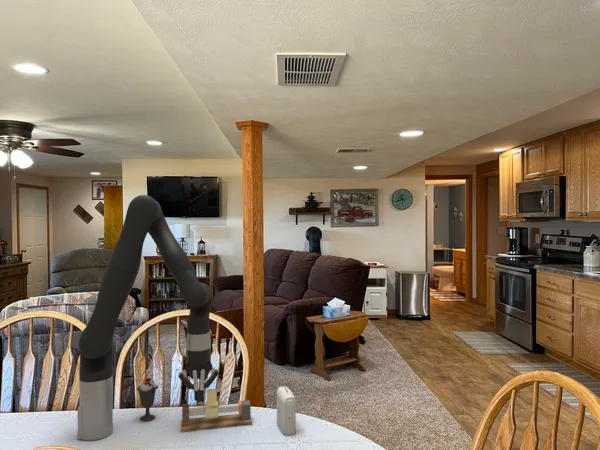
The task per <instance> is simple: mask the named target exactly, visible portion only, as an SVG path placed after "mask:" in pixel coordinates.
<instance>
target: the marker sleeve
mask: <svg viewBox="0 0 600 450" xmlns="http://www.w3.org/2000/svg"><path fill="white" fill-rule="evenodd" d="M217 392H218V391H217V388H211V389H210V388H209V389H208V388H207V389H206V401H205V402H204V403H205V404H204V405H205V406H204V407H205V415H204V417H205V418H206V419H216V418H219V417H218V416H219V413H218V405H219V401H218V400H217V399H218V398H217Z"/></svg>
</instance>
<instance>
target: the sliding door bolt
mask: <svg viewBox="0 0 600 450" xmlns="http://www.w3.org/2000/svg"><path fill="white" fill-rule="evenodd" d="M234 412H238V414H241V419H242V420H250V419H252V417H251V413H252V412H251V401H250V400H249V399H248V400H238V402H237V403H231V404H220V405H219V404H218V414H225V413H234ZM203 415H204V416H205V406H200V407H199V406H198V407H189V417H194V416H195V417H197V416H203Z"/></svg>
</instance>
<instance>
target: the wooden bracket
mask: <svg viewBox="0 0 600 450" xmlns="http://www.w3.org/2000/svg"><path fill="white" fill-rule="evenodd" d="M189 408H190V403H185V404H184V403H183V404H182V409H181V411H182V412H181V413H182V414H181V416H182V417H181V418H182V419H181V422H180V433H185V432H186V433H187V432H188V433H189V432H197V431H205V430H215V429H223V428H224V429H225V428H233V427H235V428H236V427H245V426H252V425H253V419H252V418H251V419H250V420H242V419H241V414H239V413H232V414H223V415H221V414H220V415H218V417H219V418H216V419H206V418H205V416H204V417H203V416H201V417H194V418H190V416H189Z"/></svg>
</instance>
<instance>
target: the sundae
mask: <svg viewBox="0 0 600 450" xmlns="http://www.w3.org/2000/svg"><path fill="white" fill-rule="evenodd" d="M148 376H149V374H146V376H145V379H144V380H143V382H142V384H141V385H139V386H138V387H137V388H136V391H138V395H139V401H140V405H141V406H142V408H144V409H145V414H144V415H143V416H141V417H139V421H140V422H151V421H153V420H155V419H156V416H155V415H154V414H151V412H150V409H151V407H152V406H153V405H154V404H155V397H156V392H157V391H156V390H157V389H159V386H158V385H157V384H156V383H155V380H154V379H152V378H151V377H148Z"/></svg>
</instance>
